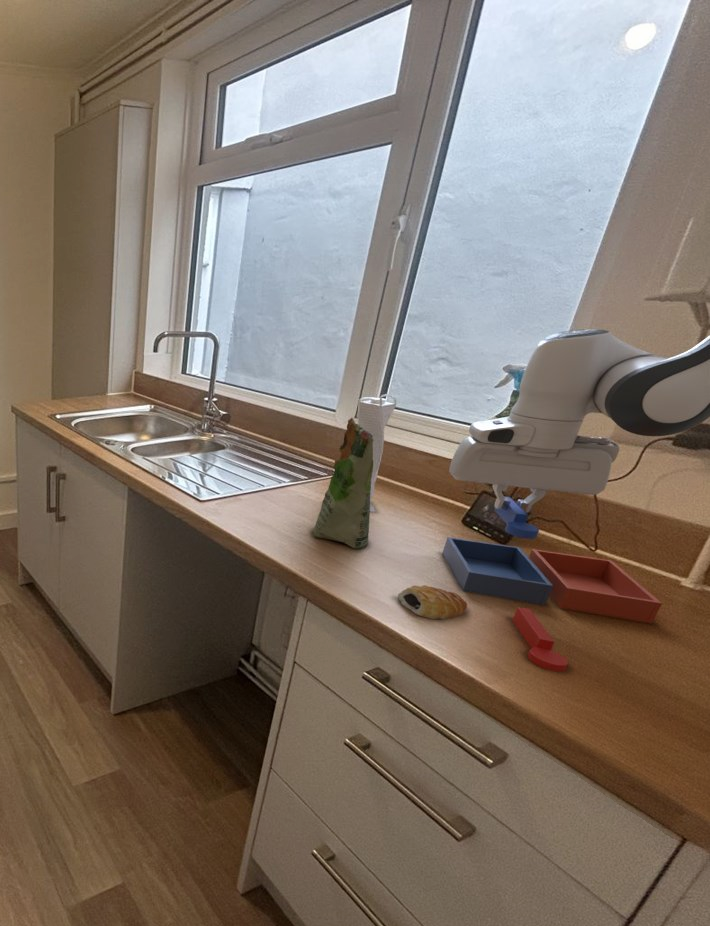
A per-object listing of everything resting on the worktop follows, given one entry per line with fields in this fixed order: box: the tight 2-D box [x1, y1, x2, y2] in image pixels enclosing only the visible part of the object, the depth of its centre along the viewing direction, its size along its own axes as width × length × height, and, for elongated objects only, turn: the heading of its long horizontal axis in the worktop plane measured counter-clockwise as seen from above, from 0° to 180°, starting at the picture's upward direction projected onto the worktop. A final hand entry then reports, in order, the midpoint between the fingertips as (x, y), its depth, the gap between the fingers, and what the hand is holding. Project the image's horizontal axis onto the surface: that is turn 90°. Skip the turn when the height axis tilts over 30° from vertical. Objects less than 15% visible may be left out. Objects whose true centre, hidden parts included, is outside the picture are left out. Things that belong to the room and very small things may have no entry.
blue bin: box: [441, 536, 553, 606], centre depth 95 cm, size 11×15×4 cm
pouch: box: [312, 417, 374, 550], centre depth 107 cm, size 11×12×25 cm
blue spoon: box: [493, 496, 540, 540], centre depth 90 cm, size 4×13×3 cm, turn 155°
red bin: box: [528, 548, 663, 624], centre depth 90 cm, size 11×15×4 cm
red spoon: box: [512, 606, 569, 672], centre depth 77 cm, size 4×13×3 cm, turn 156°
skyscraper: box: [357, 393, 397, 513], centre depth 122 cm, size 8×8×28 cm
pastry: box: [397, 584, 468, 620], centre depth 86 cm, size 9×7×4 cm
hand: (510, 509), depth 92 cm, fingers closed on blue spoon
